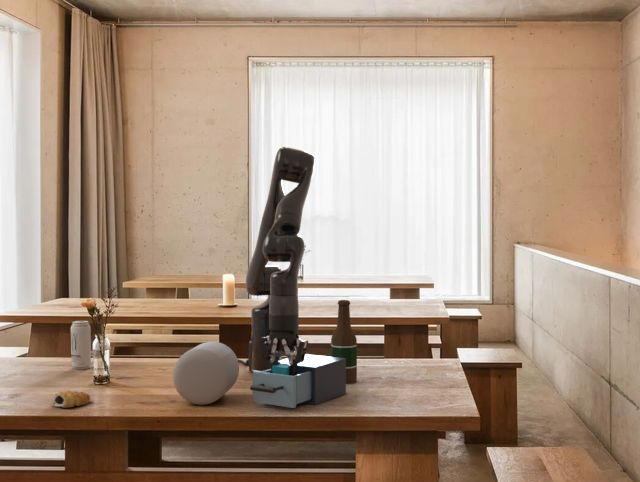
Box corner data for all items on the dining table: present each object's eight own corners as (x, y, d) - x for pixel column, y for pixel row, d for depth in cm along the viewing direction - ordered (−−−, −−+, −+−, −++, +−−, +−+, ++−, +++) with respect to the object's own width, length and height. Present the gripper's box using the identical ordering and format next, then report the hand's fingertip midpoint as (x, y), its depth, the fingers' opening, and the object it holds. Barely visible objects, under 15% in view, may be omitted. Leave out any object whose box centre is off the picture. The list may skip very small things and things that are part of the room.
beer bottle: (354, 384, 240) (354, 302, 238) (328, 383, 241) (328, 301, 239) (358, 379, 247) (359, 299, 246) (333, 378, 249) (333, 298, 247)
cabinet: (315, 404, 214) (315, 367, 213) (271, 398, 221) (271, 362, 221) (345, 393, 228) (346, 358, 227) (303, 388, 235) (303, 353, 234)
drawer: (282, 412, 202) (282, 380, 202) (241, 405, 209) (240, 375, 208) (324, 397, 219) (324, 367, 218) (284, 391, 225) (284, 363, 225)
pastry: (80, 399, 220) (79, 385, 220) (96, 403, 216) (96, 388, 216) (50, 406, 212) (49, 391, 212) (66, 410, 208) (66, 395, 208)
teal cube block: (272, 383, 213) (272, 366, 213) (282, 380, 217) (282, 363, 216) (286, 385, 211) (286, 367, 210) (296, 382, 215) (296, 365, 214)
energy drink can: (67, 368, 264) (66, 321, 263) (84, 365, 269) (83, 319, 268) (78, 370, 260) (77, 323, 259) (94, 368, 265) (94, 321, 264)
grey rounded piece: (148, 385, 215) (190, 356, 238) (185, 428, 214) (223, 394, 238) (194, 341, 208) (233, 316, 232) (233, 386, 208) (267, 355, 231)
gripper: (315, 312, 212) (315, 378, 213) (269, 308, 219) (269, 372, 221) (299, 315, 206) (299, 383, 207) (252, 311, 213) (253, 377, 214)
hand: (284, 377), depth 214 cm, fingers closed on teal cube block, 4 cm apart
